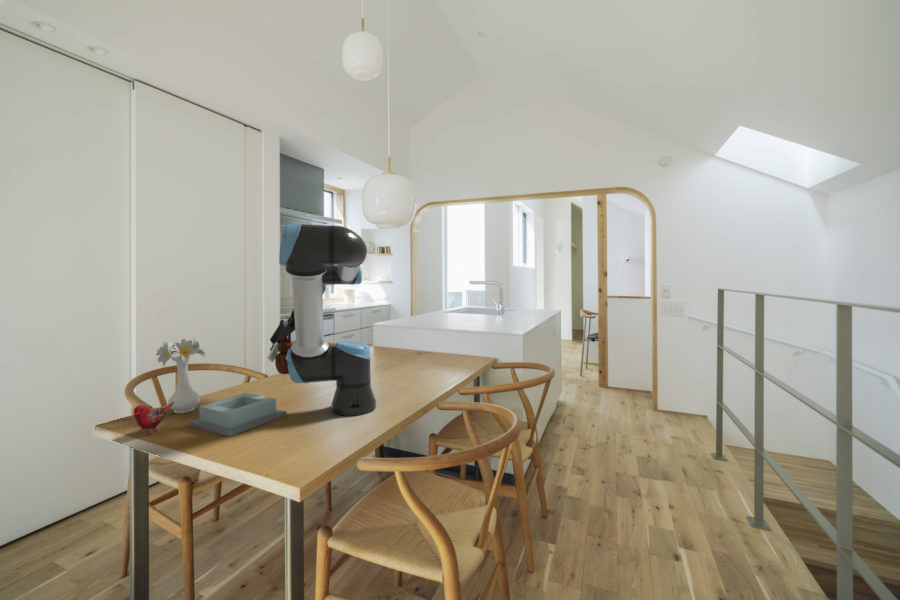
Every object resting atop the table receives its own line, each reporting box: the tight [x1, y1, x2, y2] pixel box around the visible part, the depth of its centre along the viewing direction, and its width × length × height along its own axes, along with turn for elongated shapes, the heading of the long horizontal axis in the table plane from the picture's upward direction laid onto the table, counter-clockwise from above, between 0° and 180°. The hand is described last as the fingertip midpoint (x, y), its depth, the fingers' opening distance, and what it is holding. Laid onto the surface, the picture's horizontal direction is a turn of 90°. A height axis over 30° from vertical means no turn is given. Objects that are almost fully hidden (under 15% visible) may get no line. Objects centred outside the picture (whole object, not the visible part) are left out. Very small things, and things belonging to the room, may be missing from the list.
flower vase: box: [155, 338, 206, 414], centre depth 135 cm, size 13×18×25 cm
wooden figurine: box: [274, 332, 293, 375], centre depth 140 cm, size 7×6×15 cm
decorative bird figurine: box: [132, 402, 174, 437], centre depth 118 cm, size 3×18×10 cm, turn 4°
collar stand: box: [188, 392, 287, 438], centre depth 127 cm, size 20×20×6 cm
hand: (279, 360), depth 137 cm, fingers closed on wooden figurine, 6 cm apart
